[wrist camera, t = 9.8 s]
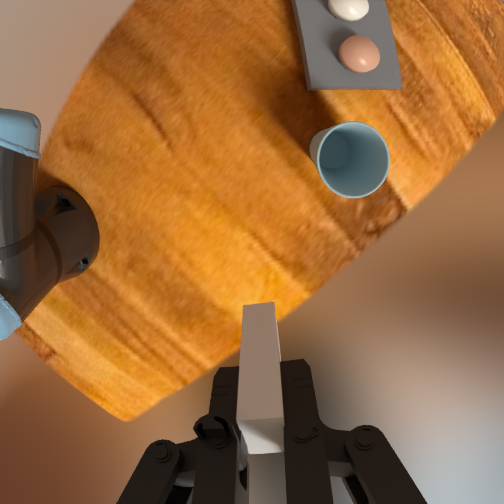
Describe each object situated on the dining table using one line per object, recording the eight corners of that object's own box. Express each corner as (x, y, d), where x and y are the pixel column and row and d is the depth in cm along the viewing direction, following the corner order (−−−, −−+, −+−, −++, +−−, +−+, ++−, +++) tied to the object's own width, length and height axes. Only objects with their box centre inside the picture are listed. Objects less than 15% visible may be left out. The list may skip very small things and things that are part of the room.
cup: (290, 134, 35) (303, 139, 26) (342, 112, 34) (373, 110, 24) (315, 186, 38) (335, 209, 28) (364, 163, 36) (399, 179, 27)
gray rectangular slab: (307, 90, 33) (311, 88, 30) (279, -44, 23) (281, -54, 21) (392, 90, 32) (402, 88, 29) (362, -40, 23) (368, -49, 20)
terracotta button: (336, 75, 30) (345, 71, 27) (330, 42, 28) (339, 34, 25) (370, 76, 30) (382, 72, 26) (364, 43, 28) (376, 36, 24)
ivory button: (327, 26, 27) (335, 16, 24) (320, -3, 25) (327, -15, 22) (361, 27, 27) (372, 19, 23) (354, -1, 25) (364, -12, 22)
